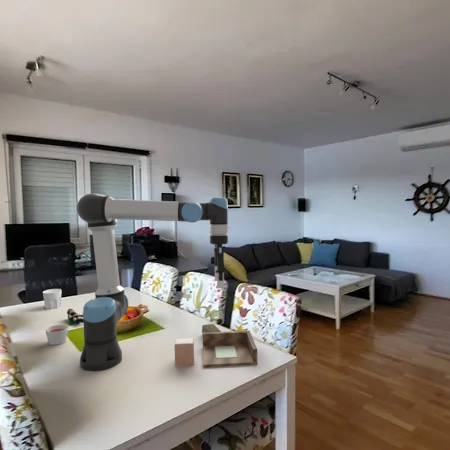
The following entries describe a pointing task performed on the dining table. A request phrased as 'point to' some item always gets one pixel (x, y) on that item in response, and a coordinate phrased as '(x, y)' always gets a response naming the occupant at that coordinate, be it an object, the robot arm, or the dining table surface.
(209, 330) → the stone block
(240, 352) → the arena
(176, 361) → the terracotta block
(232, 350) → the sage pad
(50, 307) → the cup
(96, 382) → the dining table surface
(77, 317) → the figurine
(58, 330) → the candle
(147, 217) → the robot arm
